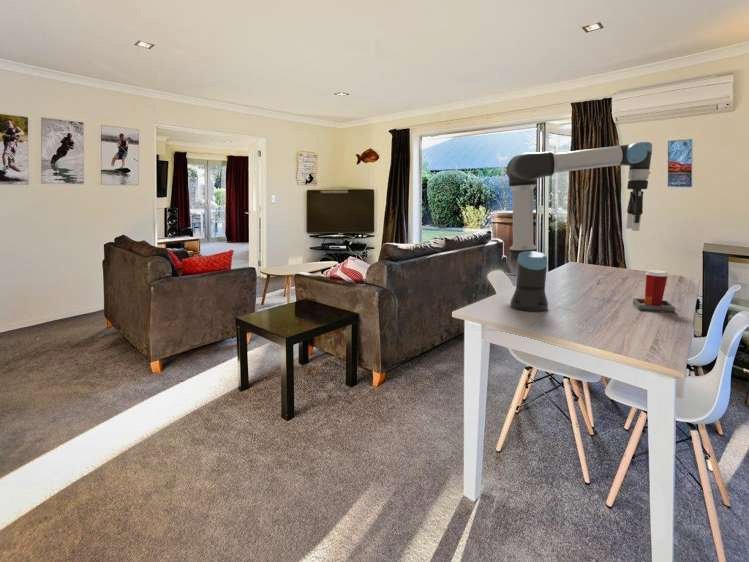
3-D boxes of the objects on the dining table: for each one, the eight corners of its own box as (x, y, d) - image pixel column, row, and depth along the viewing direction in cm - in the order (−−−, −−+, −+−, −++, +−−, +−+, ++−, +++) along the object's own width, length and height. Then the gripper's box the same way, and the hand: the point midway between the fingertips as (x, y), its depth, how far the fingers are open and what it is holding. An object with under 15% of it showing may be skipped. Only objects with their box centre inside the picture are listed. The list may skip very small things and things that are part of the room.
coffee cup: (665, 305, 190) (670, 271, 188) (662, 309, 184) (666, 273, 182) (643, 302, 196) (647, 269, 193) (639, 305, 190) (643, 271, 187)
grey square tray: (638, 310, 186) (639, 304, 186) (632, 303, 198) (633, 298, 198) (674, 312, 182) (675, 307, 182) (666, 305, 194) (667, 300, 194)
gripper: (655, 178, 177) (648, 232, 181) (642, 180, 200) (636, 227, 204) (633, 178, 179) (627, 231, 184) (623, 180, 202) (618, 227, 207)
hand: (632, 229), depth 194 cm, fingers open, 13 cm apart
